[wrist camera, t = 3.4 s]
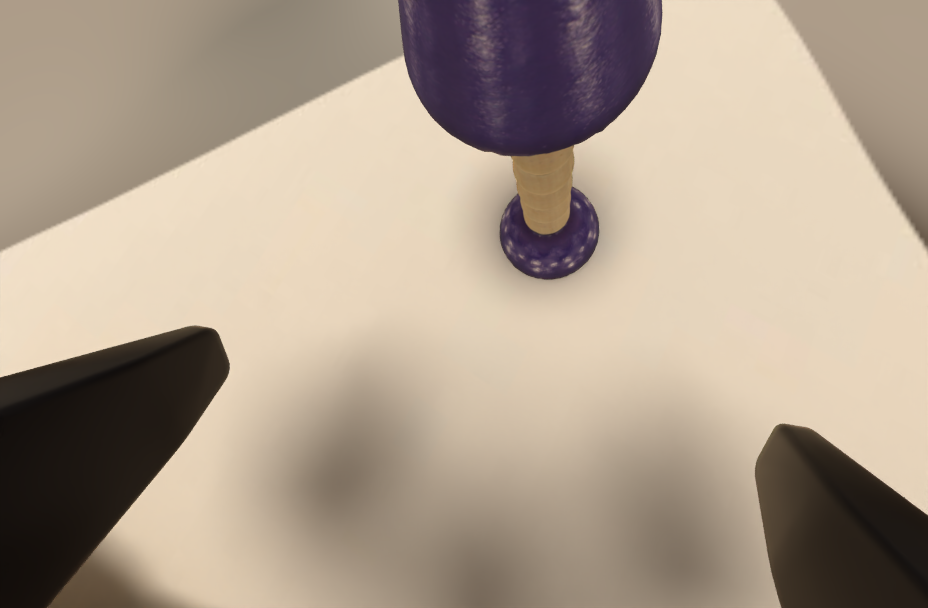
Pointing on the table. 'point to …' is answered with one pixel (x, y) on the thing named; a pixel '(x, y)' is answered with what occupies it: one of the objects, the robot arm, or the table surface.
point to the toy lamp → (532, 100)
